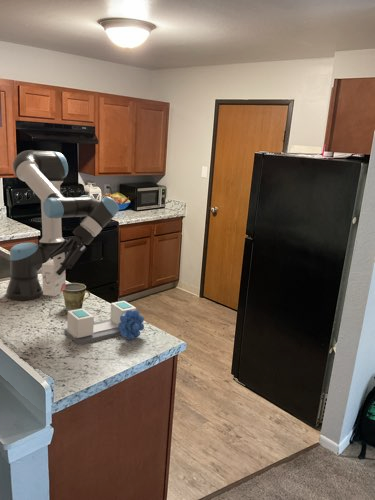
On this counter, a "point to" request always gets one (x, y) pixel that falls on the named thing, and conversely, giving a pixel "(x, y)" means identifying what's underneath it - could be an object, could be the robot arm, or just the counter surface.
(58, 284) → the ink cartridge box
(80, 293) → the ceramic cup
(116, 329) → the rail board
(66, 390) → the counter surface
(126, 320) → the blue thick lobed disc
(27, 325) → the counter surface
